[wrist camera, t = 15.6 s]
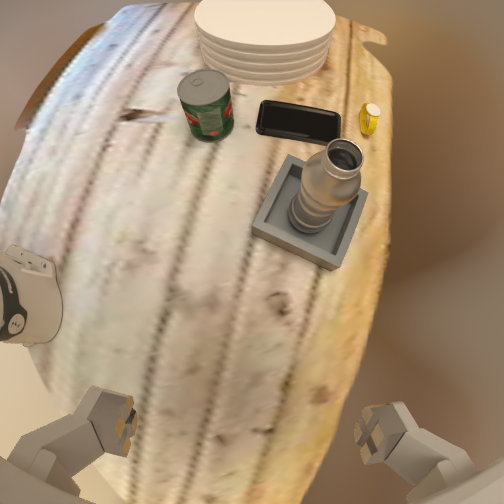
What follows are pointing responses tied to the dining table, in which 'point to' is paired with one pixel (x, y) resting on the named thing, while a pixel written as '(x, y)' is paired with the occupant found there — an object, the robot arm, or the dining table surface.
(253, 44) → the plate stack
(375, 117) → the watch
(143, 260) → the dining table surface
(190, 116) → the canned tomato
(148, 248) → the dining table surface
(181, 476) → the dining table surface
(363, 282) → the dining table surface
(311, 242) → the tray
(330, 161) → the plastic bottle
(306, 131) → the phone
